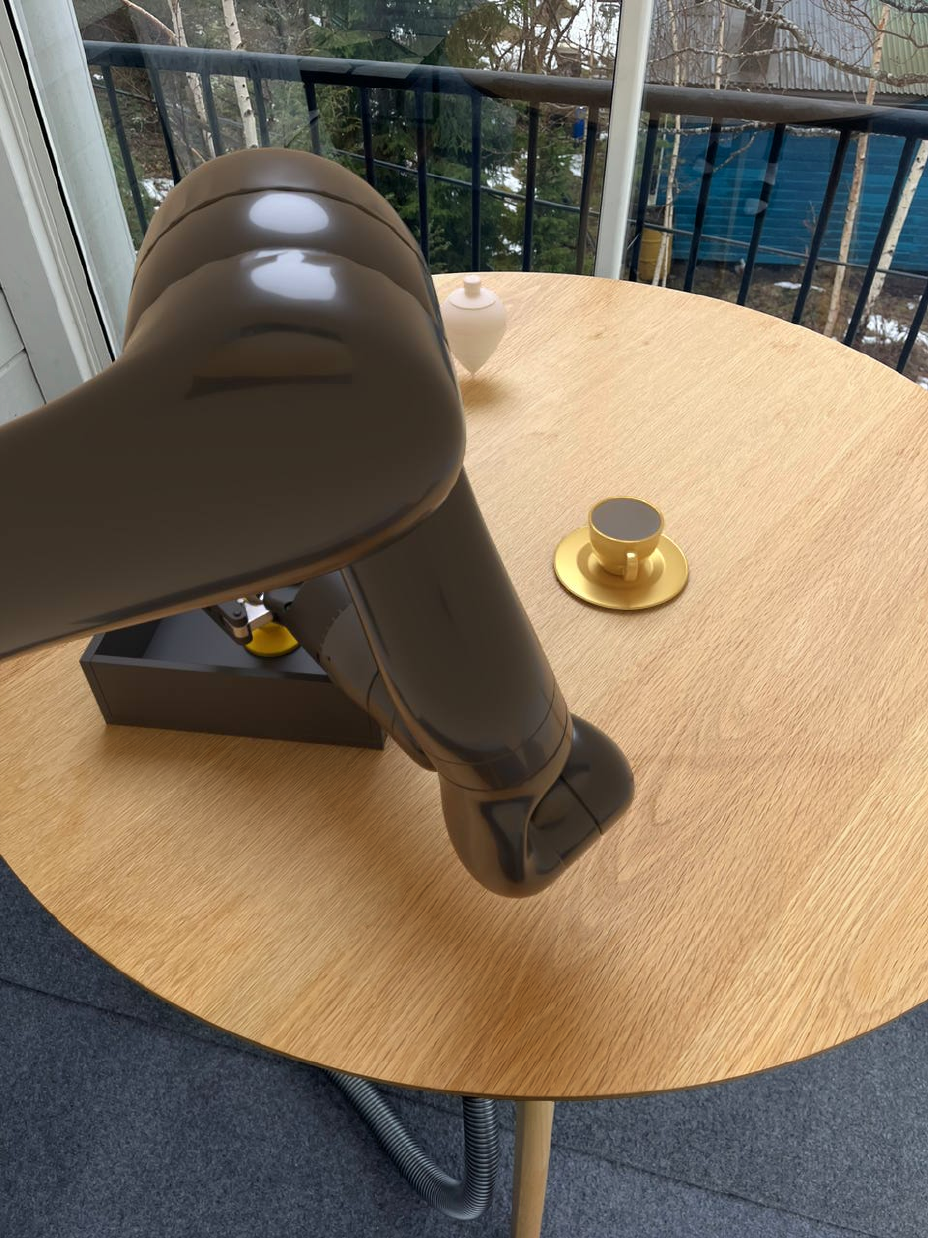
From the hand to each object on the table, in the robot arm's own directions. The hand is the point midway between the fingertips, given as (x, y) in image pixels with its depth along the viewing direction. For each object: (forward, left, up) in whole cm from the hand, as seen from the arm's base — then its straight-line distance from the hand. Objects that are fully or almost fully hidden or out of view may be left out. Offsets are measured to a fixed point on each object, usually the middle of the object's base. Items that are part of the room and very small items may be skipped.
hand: (252, 518), depth 70 cm
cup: (+28, +12, -12) cm, 33 cm away
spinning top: (+11, +43, -12) cm, 46 cm away
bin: (0, 0, -12) cm, 12 cm away
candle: (0, -1, -11) cm, 11 cm away
